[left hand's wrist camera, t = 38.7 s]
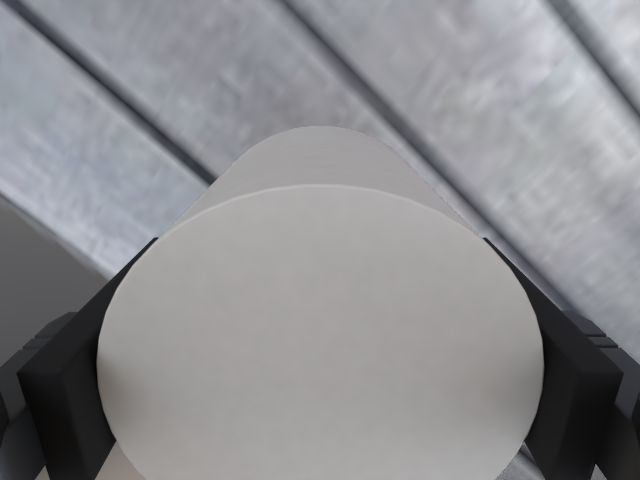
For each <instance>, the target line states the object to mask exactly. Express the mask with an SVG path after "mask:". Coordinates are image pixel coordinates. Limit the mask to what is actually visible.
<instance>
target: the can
mask: <svg viewBox="0 0 640 480" xmlns="http://www.w3.org/2000/svg"><path fill="white" fill-rule="evenodd" d="M96 364H97V380H98V390H99V394H100V398H101V403H102V407H103V411H104V413H105V416H106V418H107V421H108V424H109V426H110V429H111V431H112V433H113V435H114V437H115V438H116V440H117V442H118V444H119V445H120V447H121V449H122V451H123V452H124V453H125V455H126V456H127V457H128V459H129V460H130V461H131V463H132V464H133V465H134V467H135V468H136V469H137V470H138V472H139V473H140V474H142V476H143V477H144V478H145V479H146V480H495V479H496V478H497V477H498V476H499V475H500V474H501V473H502V471H503V470H504V469H505V468H506V466H507V465H508V464H509V463H510V461H511V460H512V459H513V457H514V456H515V455H516V453H517V452H518V450H519V448H520V447H521V445H522V443H523V442H524V440H525V438H526V437H527V435H528V433H529V430H530V428H531V425H532V423H533V421H534V418H535V416H536V413H537V410H538V406H539V402H540V398H541V394H542V389H543V376H544V356H543V344H542V337H541V334H540V330H539V326H538V322H537V318H536V315H535V312H534V310H533V308H532V306H531V303H530V301H529V299H528V297H527V294H526V292H525V290H524V289H523V287H522V286H521V284H520V283H519V281H518V280H517V278H516V276H515V275H514V273H513V272H512V270H511V269H510V267H509V266H508V265H507V264H506V263H505V262H504V261H503V260H502V259H501V258H500V256H499V255H498V254H497V253H496V252H495V251H494V250H493V249H492V248H491V247H490V246H489V244H488V243H487V242H486V241H485V240H484V239H483V238H482V237H481V236H480V235H479V234H478V233H477V232H476V231H475V230H474V229H473V228H472V227H471V226H470V225H469V224H468V223H467V222H466V221H465V220H464V219H463V218H462V217H461V216H460V215H459V214H458V213H457V212H456V211H455V210H454V209H453V208H452V207H451V206H450V205H449V204H448V203H447V202H446V201H445V200H444V199H443V198H442V197H441V196H440V195H439V194H438V193H437V192H436V191H435V190H434V189H433V188H432V187H431V186H430V185H429V184H428V183H427V182H426V181H425V180H424V179H423V178H422V177H421V176H420V175H419V174H418V173H417V172H416V171H415V170H414V169H413V168H412V167H411V166H410V165H409V164H408V163H407V162H406V161H405V160H404V159H403V158H402V157H401V156H400V155H399V154H397V153H396V152H395V151H394V150H393V149H391V148H390V147H389V146H387V145H385V144H384V143H382V142H380V141H379V140H377V139H375V138H373V137H371V136H368V135H366V134H364V133H362V132H358V131H355V130H351V129H348V128H342V127H335V126H306V127H298V128H294V129H290V130H286V131H282V132H279V133H277V134H275V135H272V136H270V137H268V138H265V139H264V140H262V141H260V142H259V143H257V144H255V145H254V146H252V147H251V148H250V149H248V150H247V151H246V152H245V153H243V154H242V155H241V156H240V157H239V158H238V159H237V160H236V161H235V162H234V163H233V164H232V165H231V166H230V167H229V168H228V169H227V170H226V171H225V172H224V173H223V174H222V175H221V176H220V177H219V178H218V179H217V180H216V181H215V182H214V183H213V184H212V185H211V186H210V187H209V188H208V189H207V190H206V191H205V192H204V193H203V194H202V195H201V196H200V197H199V198H198V199H197V200H196V201H195V202H194V203H193V204H192V205H191V206H190V207H189V208H188V209H187V210H186V211H185V212H184V213H183V214H182V215H181V216H180V217H179V218H178V219H177V220H176V221H175V222H174V223H173V224H172V225H171V226H170V227H169V228H168V229H167V230H166V231H165V232H164V233H163V234H162V235H161V236H160V237H159V238H158V239H157V240H156V241H155V242H154V243H153V244H152V245H151V246H150V247H149V249H148V250H147V251H146V252H145V253H144V254H143V255H142V256H141V257H140V258H139V259H138V260H137V261H136V262H135V263H134V264H133V266H132V267H131V269H130V270H129V272H128V273H127V274H126V276H125V277H124V279H123V280H122V282H121V283H120V285H119V286H118V288H117V290H116V292H115V294H114V296H113V298H112V300H111V302H110V305H109V307H108V309H107V311H106V314H105V317H104V321H103V325H102V328H101V332H100V335H99V343H98V352H97V362H96Z"/></svg>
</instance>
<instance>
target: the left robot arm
mask: <svg viewBox="0 0 640 480" xmlns="http://www.w3.org/2000/svg"><path fill="white" fill-rule="evenodd" d="M157 239H158V238H153V239H152V240H151V241H150V242H149V243H148V244H147V245H146V246H145V247H144V248H143V249H142V250H141V251H140V252H139V253H138V254H137V255H136V256H135V257H134V258H133V259H132V260H131V261H130V262H129V263H128V264H127V265H126V266H125V267H124V268H123V269H122V270H121V271H120V272H119V273H118V274H117V275H116V276H115V277H114V278H112V279H111V280H110V281H109V282H108V283H107V284H106V285H105V286H104V287H103V288H102V289H101V290H100V291H99V292H98V293H97V294H96V295H95V296H94V297H93V298H92V299H91V300H90V301H89V302H88V303H87V304H86V305H85V306H84V307H83V308H82V309H81V310H80V311H79V312H68V313H67V314H65V315H63V316H61V317H59V318H57V319H55V320H54V321H52V322H50V323H48V324H47V325H46V326H45V327H44V328H43V329H42V330H41V331H40V332H39V333H38V334H36V335H35V338H34V339H31V340H30V341H29V342H28V343H27V344H26V345H24V346H23V349H22V350H19V351H18V352H17V353H16V354H15V355H13V356H12V357H11V358H10V359H9V360H8V361H7V362H6V363H5V364H4V365H3V366H1V367H0V480H35V479H36V477H37V476H38V474H39V473H40V471H41V470H42V469H43V467H44V466H45V465H46V469H47V472H48V475H49V478H50V480H95V478H96V476H97V474H98V473H99V471H100V469H101V467H102V465H103V464H104V462H105V460H106V458H107V456H108V455H109V453H110V451H111V449H112V447H113V446H114V444H115V442H116V438H115V437H114V435H113V433H112V431H111V429H110V426H109V424H108V421H107V418H106V416H105V413H104V411H103V407H102V403H101V398H100V394H99V390H98V380H97V364H96V362H97V352H98V343H99V335H100V332H101V328H102V325H103V321H104V317H105V314H106V311H107V309H108V307H109V305H110V302H111V300H112V298H113V296H114V294H115V292H116V290H117V288H118V286H119V285H120V283H121V282H122V280H123V279H124V277H125V276H126V274H127V273H128V272H129V270H130V269H131V267H132V266H133V264H134V263H135V262H136V261H137V260H138V259H139V258H140V257H141V256H142V255H143V254H144V253H145V252H146V251H147V250H148V249H149V247H150V246H151V245H152V244H153V243H154V242H155V241H156V240H157ZM483 239H484V240H485V241H486V242H487V243H488V244H489V246H490V247H491V248H492V249H493V250H494V251H495V252H496V253H497V254H498V255H499V256H500V258H501V259H502V260H503V261H504V262H505V263H506V264H507V265H508V266H509V267H510V269H511V270H512V272H513V273H514V275H515V276H516V278H517V280H518V281H519V283H520V284H521V286H522V287H523V289H524V290H525V292H526V294H527V297H528V299H529V301H530V303H531V306H532V308H533V310H534V312H535V315H536V318H537V322H538V326H539V330H540V334H541V337H542V344H543V356H544V376H543V389H542V394H541V398H540V402H539V406H538V410H537V413H536V416H535V418H534V421H533V423H532V425H531V428H530V430H529V433H528V435H527V437H526V438H525V440H524V442H525V443H526V445H527V447H528V449H529V450H530V452H531V454H532V456H533V458H534V459H535V461H536V463H537V465H538V467H539V468H540V470H541V472H542V474H543V476H544V477H545V479H546V480H590V479H591V476H592V473H593V470H594V467H595V464H597V466H598V467H599V469H600V470H601V471H602V473H603V474H604V476H605V477H606V478H607V480H640V365H639V364H638V363H637V362H636V361H635V360H634V359H632V358H631V357H630V356H629V355H628V354H627V353H626V352H625V351H624V350H623V349H621V348H618V345H617V344H616V343H615V342H614V341H613V340H612V339H610V338H609V337H606V334H605V333H604V332H603V331H602V330H601V329H599V328H598V327H597V326H596V325H595V324H594V323H593V322H592V321H590V320H588V319H586V318H584V317H582V316H581V315H579V314H577V313H575V312H573V311H561V310H560V309H559V308H558V307H556V306H555V305H554V304H553V303H552V302H551V301H550V300H549V299H548V298H547V297H546V296H545V295H544V294H543V293H542V292H541V291H540V290H539V289H538V288H537V287H536V286H535V285H534V284H533V283H532V282H531V281H530V280H529V279H528V278H527V277H526V276H525V275H524V274H523V273H522V272H521V271H520V270H519V269H518V268H517V267H516V266H515V265H514V264H513V263H512V262H511V261H509V260H508V259H507V258H506V257H505V256H504V255H503V254H502V253H501V252H500V251H499V250H498V249H497V248H496V247H495V246H494V245H493V244H492V243H491V242H490V241H489V240H488V239H487V238H483Z"/></svg>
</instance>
